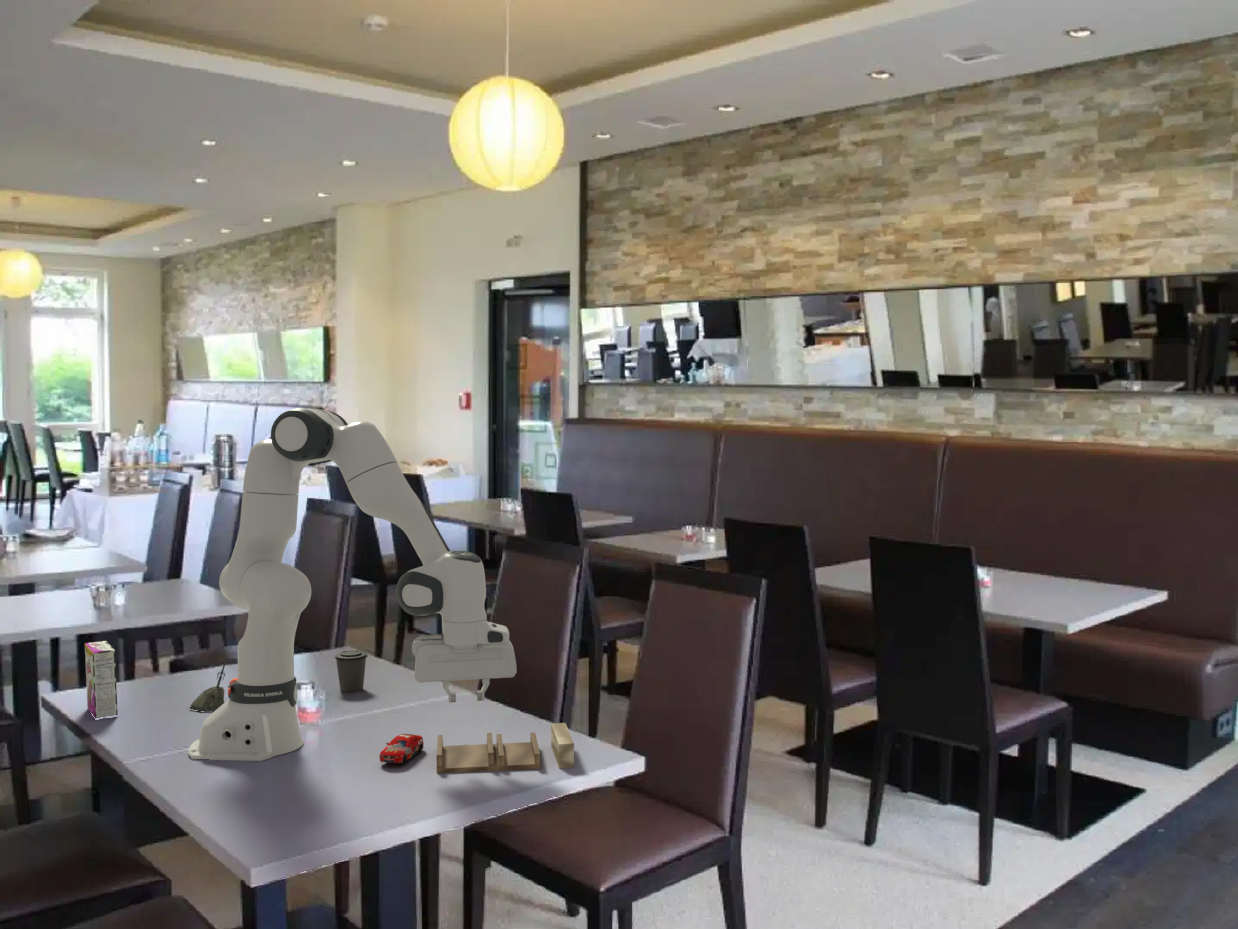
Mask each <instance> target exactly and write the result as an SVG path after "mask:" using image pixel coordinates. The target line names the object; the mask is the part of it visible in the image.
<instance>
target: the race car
mask: <svg viewBox="0 0 1238 929" xmlns="http://www.w3.org/2000/svg"><path fill="white" fill-rule="evenodd" d="M385 744H386V745H387V746H385V747H384V748H383V750H381V751H380V752H379V761H380V763H385V764H386V763H387V764H401V765H405V764H406V763H407V761H408V760H411V758H413V757H414V756H416V755H417V754H421V753H422V750H424V738H423V736H422V735H419V734H412V733H400V734H398V735H396V736H395V737H394V738H392V739H391V740H390V742H385Z"/></svg>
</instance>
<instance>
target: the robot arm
mask: <svg viewBox="0 0 1238 929" xmlns="http://www.w3.org/2000/svg"><path fill="white" fill-rule="evenodd" d="M330 462H333V463H335V465H336V466H337V467H338V469H339V470H340V473H341V475H342V477H343V479H344V482H345V484H346V486H347V489H348V491H349V492H350V495H351V497H352V499H353V501H354V502H355V504H356V505H357V506H358V508H359V509H360V510H361V511H362V513H365V514H366V515H368V516H371V517H374V518H377V519H381V520H383V521H384V520H385V521H387V522H389V523H392V524H393V525H394V526H396V527H398V528H399V529H401V530H402V531H403V532H404V533H405V535H406V536H407V538H408V540H409V541H410V543H411V545H412V547H413V549H414V550H415V553H416V555H417V556H418V557H419V559H420V561H421V563H422V566H418V567H416V568H412V569H410V570H407V572H405V573H403V574H402V575H401V576H400V578H399V579H398V581H397V584H396V587H395V595H396V599H397V602H398V604H399V606H400V607H401V609H403V611H404V612H405V613H407V614H409V615H411V616H414V617H415V616H418V617H419V616H420V617H422V616H428V615H432V614H440V616H441V627H442V628H441V630H442V633H434V634H420V635H419V636H418V637H416V638H414V639H413V640H412V643H411V651H412V652H411V653H412V656H414V658H415V660H414V662H415V663H414V680H416V681H417V682H418V683H434V682H436V683H437V682H442V688H443V689H444V691H445V692H446V694H447V695H448V703H450V704H451V703H456V702H457V691H452V690H451V688H450V686H451V685H450V681H451V682H452V681H470V680H471V681H472V680H481V681H482V687H481V689H478V690H476V701H477V702H481V701H483V702H484V701H485V698H486V697H485V693H486V692H487V689H488V687H489V685H490V684H491V682H490V679H503V678H505V679H506V678H507V679H508V678H514V677H515V676H516V674H517V661H516V660H517V659H516V654H515V650H514V646H513V644H512V642H511V640H510V631H509V628H508V627H507V626H506V625H503V624H498V623H494V622H492V621H491V622H490V621H488V617H487V616H488V615H487V612H486V608H485V601H486V599H487V586H486V583H487V582H486V573H485V568H484V567H485V566H484V563H483V561H482V559H481V557H480V556H478V555H477V554H476V553H473V552H470V551H466V550H451V549H450V548H449V546H448V544H447V543H446V541H445V539H444V537H443V535H442V534H441V532H440V530H439V529H438V527H437V525H436V523H435V521H434V520H433V518H432V516H431V514H430V513H429V511H428V509H427V507H426V506H425V505H424V503H423V502H422V500H421V498H419V496H418V495H417V494H416V493H415V491H414V490H413V489H412V487H411V485H410V484H409V482H408V480H407V479H406V477H405V475H404V473H403V471H402V470H401V467H400V465H399V463H398V461H397V458H396V457H395V454H394V453H393V451H392V449H391V447H390V446H389V444H388V442H387V440H386V439H385V437H384V436H383V434H382V433H381V431H380V430H379V428H378V427H377V426H376V425H375V424H373V423H371V422H369V421H364V420H361V421H360V420H359V421H355V422H354V421H353V422H350V423H348V422H347V421H346V419H344V418H343V417H342V416H341V415H339V414H338V413H336V412H334V411H328V410H324V409H321V408H313V407H311V408H305V407H304V408H303V407H302V408H301V407H298V408H292V409H288V410H286V411H284V412H282V413H280V415H279V416H277V418H275V420H274V421H273V423H272V426H271V428H270V438H267V439H263V440H260V441H258V442H256V443H255V444H253V445H252V447H251V449H250V451H249V454H248V457H247V462H246V466H245V470H244V478H243V484H242V496H241V497H242V498H241V510H240V520H239V522H240V523H239V529H238V534H237V538H236V542H235V546H234V548H233V551H232V554H231V557H230V559H229V562H228V563H227V564H226V565H225V566H224V567H223V569H222V571H221V573H220V575H219V582H218V585H219V586H218V587H219V590H220V592H221V594H222V595H223V596H224V598H225V599H226V600H227V601H228V602H229V603H231V604H232V605H234V606H235V607H237V608H240V609H242V610H246V611H247V614H248V617H247V622H246V627H245V631H244V633H243V636H242V637H241V638H240V640H239V641H238V644H237V677H233V678H232V679H231V680H230V681H229V683H228V687H227V695H228V698H229V699H227V701H224V704H223V705H221V706H220V707H219V708H218V709H217V710H215V711H214V712H211V714H209V715H208V716H207V717H206V718H205V719H204V721H203V723H202V726H201V729H200V733H199V738H198V739H195V741H193V742H192V743H191V744H190V746H189V747H188V750H187V755H188V754H189V756H190V757H191V758H192V759H191V760H193V759H209V760H208V761H236V762H237V761H239V762H241V761H242V762H245V761H246V762H249V761H250V762H256V761H257V762H262V761H266V760H268V759H271V758H273V757H276V756H280V755H281V756H282V755H284V754H288V753H291V752H294V751H296V750H299V749H300V748H301V747H302V746H303V745H304V739H303V737H302V736H303V735H302V733H301V729H300V725H299V719H298V712H297V706H296V705H297V702H298V683H297V677H296V676H295V660H294V659H295V650H294V648H295V637H296V632H297V627H298V624H299V620H300V616H301V613H302V612H303V611H304V610H305V609H306V608H307V606H308V605H309V603H310V600H311V597H312V586H311V581H310V580H309V578H308V576H306V574H304V572H302V571H300V570H299V569H298V568H296V567H295V566H293V565H291V564H287V563H283V557H284V553H285V550H286V548H287V546H288V543H289V541H290V540H291V538H293V537H294V535H296V530H297V522H298V508H299V491H300V477H301V474H302V472H303V470H304V469H305V467H306V466H310V467H313V466H318V465H320V464H325V463H330Z"/></svg>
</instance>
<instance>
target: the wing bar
mask: <svg viewBox="0 0 1238 929" xmlns="http://www.w3.org/2000/svg"><path fill="white" fill-rule="evenodd" d="M550 744H551V745H550V747H551V750H552V752H553V755H554V758H555V761H556V764H557V767H558V769H568V768H569V769H570V768H574V767H575V743H574V740H573V738H572V736H571V733H570V731H569V727H568V726H567V723H566V722H557V723H550Z"/></svg>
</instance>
